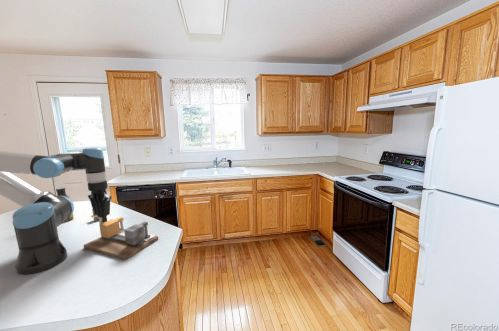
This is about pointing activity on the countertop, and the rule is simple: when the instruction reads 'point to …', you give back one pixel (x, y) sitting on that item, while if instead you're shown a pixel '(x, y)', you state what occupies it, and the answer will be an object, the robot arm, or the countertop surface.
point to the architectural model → (94, 216)
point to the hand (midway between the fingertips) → (104, 228)
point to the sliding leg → (111, 227)
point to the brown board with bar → (124, 242)
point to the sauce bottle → (62, 193)
